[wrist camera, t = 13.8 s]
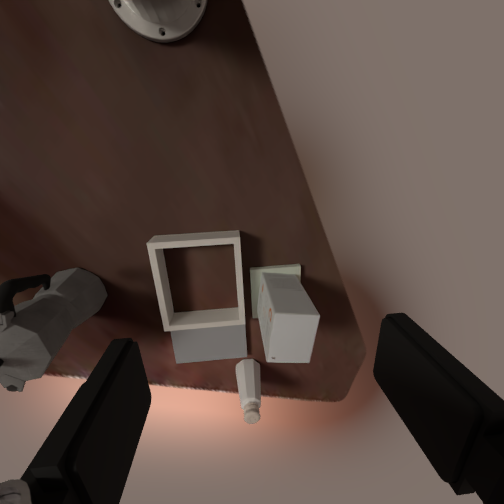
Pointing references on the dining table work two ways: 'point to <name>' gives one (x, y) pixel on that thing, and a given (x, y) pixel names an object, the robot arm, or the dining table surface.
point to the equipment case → (205, 321)
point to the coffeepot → (43, 321)
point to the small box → (286, 319)
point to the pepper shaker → (249, 389)
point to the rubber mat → (257, 271)
